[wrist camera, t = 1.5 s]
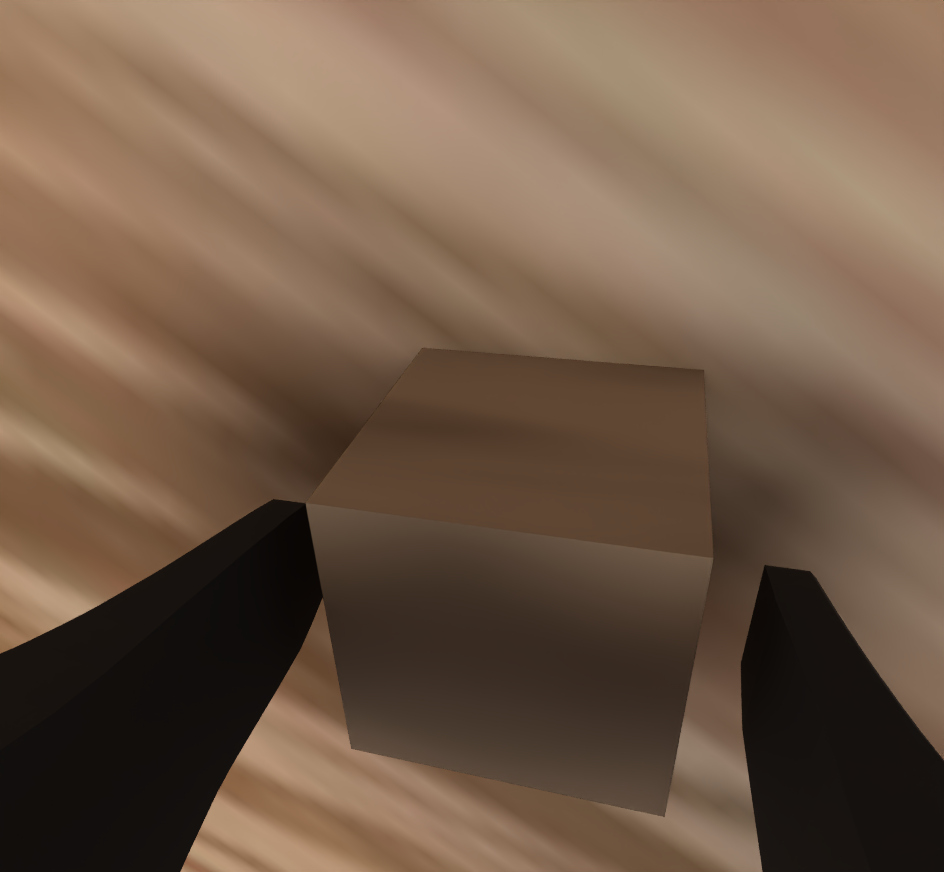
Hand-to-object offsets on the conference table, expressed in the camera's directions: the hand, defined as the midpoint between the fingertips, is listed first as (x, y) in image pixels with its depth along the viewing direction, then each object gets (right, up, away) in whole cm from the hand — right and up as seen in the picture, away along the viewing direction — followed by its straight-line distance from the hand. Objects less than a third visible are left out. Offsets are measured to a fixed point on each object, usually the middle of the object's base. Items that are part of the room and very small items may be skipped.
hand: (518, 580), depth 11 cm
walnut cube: (+1, +2, +3) cm, 3 cm away
